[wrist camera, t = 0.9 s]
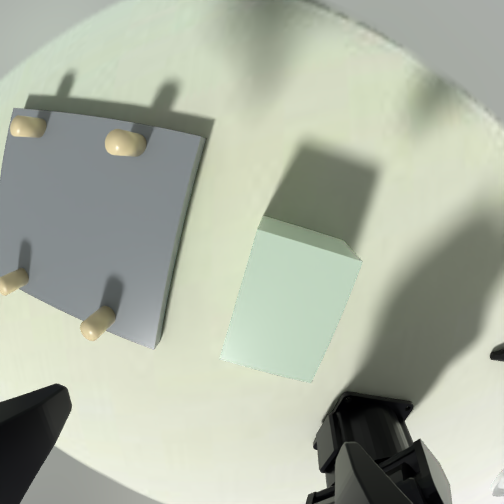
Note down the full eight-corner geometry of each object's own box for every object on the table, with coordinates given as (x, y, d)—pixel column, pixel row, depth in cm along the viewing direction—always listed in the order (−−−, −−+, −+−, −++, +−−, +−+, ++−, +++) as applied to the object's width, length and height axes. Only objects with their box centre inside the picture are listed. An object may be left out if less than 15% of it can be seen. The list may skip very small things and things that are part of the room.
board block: (342, 239, 19) (362, 261, 14) (305, 338, 21) (311, 383, 16) (263, 215, 19) (257, 229, 14) (232, 318, 21) (219, 359, 16)
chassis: (206, 138, 18) (188, 130, 14) (159, 341, 21) (140, 369, 18) (23, 109, 18) (-9, 105, 14) (4, 271, 22) (-24, 284, 18)
